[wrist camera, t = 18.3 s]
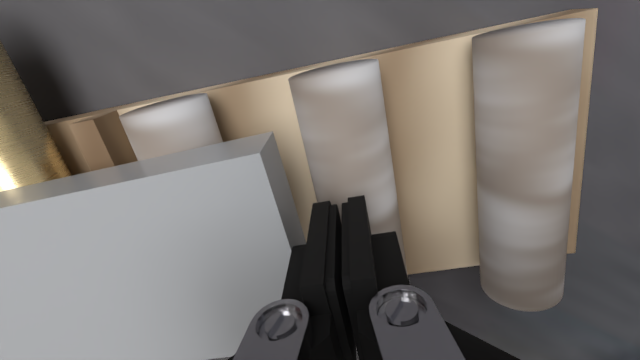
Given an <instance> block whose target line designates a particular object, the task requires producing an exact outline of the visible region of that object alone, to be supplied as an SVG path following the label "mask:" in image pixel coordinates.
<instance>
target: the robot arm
mask: <svg viewBox="0 0 640 360" xmlns="http://www.w3.org/2000/svg"><path fill="white" fill-rule="evenodd" d="M356 347H357V351H358V356H359V360H520V359H518V358H516V357H514V356H512V355H510V354H508V353H506V352H504V351H502V350H500V349H498V348H496V347H494V346H492V345H490V344H488V343H486V342H485V341H483V340H481V339H479V338H477V337H475V336H473V335H471V334H469V333H467V332H465V331H463V330H461V329H459V328H457V327H455V326H453V325H451V324H449V323H447V322H446V321H444V320H443V318H442V316H441V314H440V313H439V311H438V309H437V307H436V305H435V303H434V302H433V300H432V299H431V297H430V296H429V295H428V294H427V293H426V292H425V291H423V290H421V289H420V288H417V287H414V286H411V285H409V281H408V277H407V273H406V269H405V265H404V262H403V258H402V254H401V250H400V246H399V242H398V238H397V234H396V231H393V232H386V233H379V234H371V229H370V223H369V217H368V212H367V206H366V201H365V196H364V195H362V196H355V197H349V198H348V202H346V203H342V224H341V219H340V215H339V210H338V206H337V204H333V205H331V202H330V201H324V202H318V203H313V205H312V211H311V217H310V223H309V230H308V236H307V242H306V244H303V245H297V246H293V248H292V251H291V256H290V260H289V265H288V270H287V274H286V279H285V283H284V288H283V293H282V297H281V300H277V301H274V302H272V303H269V304H268V305H266V306H264V307H263V308H262V309H260V310H259V311H258V312H257V313H256V314H255V316H254V317H253V319H252V320H251V322H250V324H249V326H248V328H247V331H246V333H245V335H244V337H243V339H242V341H241V343H240V345H239V347H238V349H237V352H236V354H234V355H233V356H232V357H231V358H229V359H228V360H356Z"/></svg>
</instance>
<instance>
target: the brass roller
mask: <svg viewBox="0 0 640 360" xmlns="http://www.w3.org/2000/svg"><path fill="white" fill-rule="evenodd" d="M68 176H72V175H71V173H70V171H69V169H68V167H67V165H66V163H65V161H64V160H63V158H62V156H61V154H60V152H59V150H58V148H57V146H56V144H55V143H54V141H53V139H52V137H51V135H50V133H49V131H48V129H47V127H46V125H45V124H44V122H43V120H42V118H41V116H40V114H39V112H38V110H37V108H36V107H35V105H34V103H33V101H32V99H31V97H30V95H29V93H28V91H27V90H26V88H25V86H24V84H23V82H22V80H21V78H20V76H19V74H18V72H17V71H16V69H15V67H14V65H13V63H12V61H11V59H10V57H9V55H8V54H7V52H6V50H5V48H4V46H3V44H2V43H1V41H0V191H5V190H9V189H14V188H18V187H23V186H27V185H32V184H36V183H41V182H45V181H50V180H54V179H59V178H64V177H68Z"/></svg>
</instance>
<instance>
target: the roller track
mask: <svg viewBox="0 0 640 360" xmlns="http://www.w3.org/2000/svg"><path fill="white" fill-rule="evenodd" d="M597 14H598V8H591V9H571V10H566V11H562V12H557V13H552V14H548V15H543V16H538V17H534V18H529V19H524V20H520V21H515V22H510V23H506V24H501V25H496V26H492V27H487V28H482V29H477V30H473V31H468V32H463V33H459V34H454V35H449V36H445V37H440V38H435V39H431V40H426V41H421V42H417V43H412V44H407V45H402V46H398V47H393V48H388V49H384V50H379V51H374V52H370V53H365V54H360V55H356V56H351V57H346V58H342V59H337V60H332V61H327V62H323V63H318V64H313V65H309V66H304V67H299V68H295V69H290V70H285V71H281V72H276V73H271V74H267V75H262V76H257V77H253V78H248V79H243V80H238V81H234V82H229V83H224V84H220V85H215V86H210V87H206V88H201V89H196V90H192V91H187V92H182V93H178V94H173V95H168V96H163V97H159V98H154V99H149V100H145V101H140V102H135V103H131V104H126V105H121V106H117V107H112V108H107V109H103V110H98V111H93V112H89V113H84V114H79V115H74V116H70V117H65V118H60V119H56V120H51V121H46V122H44V124H45V125H46V127H47V129H48V131H49V133H50V135H51V137H52V139H53V141H54V143H55V144H56V146H57V148H58V150H59V152H60V154H61V156H62V158H63V160H64V161H65V163H66V165H67V167H68V169H69V171H70V173H71V175H72V176H73V175H77V174H82V173H86V172H91V171H95V170H100V169H104V168H109V167H113V166H118V165H122V164H127V163H131V162H136V161H140V160H145V159H150V158H154V157H159V156H163V155H168V154H172V153H177V152H181V151H186V150H190V149H195V148H199V147H204V146H208V145H213V144H217V143H222V142H226V141H231V140H236V139H240V138H245V137H249V136H254V135H258V134H263V133H267V132H272V131H273V133H274V136H275V140H276V143H277V146H278V150H279V153H280V156H281V160H282V163H283V167H284V170H285V173H286V177H287V180H288V183H289V187H290V190H291V193H292V197H293V200H294V203H295V207H296V210H297V213H298V217H299V220H300V223H301V227H302V230H303V233H304V237H305V240H306V242H307V236H308V230H309V223H310V217H311V211H312V205H313V203H318V202H324V201H330V202H331V205H333V204H337V206H338V210H339V215H340V219H341V224H342V203H346V202H348V198H349V197H355V196H362V195H364V196H365V201H366V206H367V212H368V217H369V223H370V229H371V234H379V233H386V232H393V231H396V234H397V238H398V242H399V246H400V250H401V254H402V258H403V262H404V265H405V269H406V273H407V277H408V275H409V274H416V273H424V272H432V271H439V270H447V269H455V268H462V267H470V266H478V265H480V283H481V287H482V289H483V290H484V292H485V293H486V294H487V295H488V296H489V297H490V298H491V299H492V300H494V301H495V302H497V303H499V304H501V305H503V306H505V307H508V308H511V309H515V310H520V311H542V310H546V309H549V308H552V307H553V306H555V305H557V304H558V303H559V302H560V301H561V299H562V297H563V291H564V279H565V267H566V255H567V254H570V253H575V250H576V239H577V228H578V217H579V207H580V196H581V185H582V175H583V164H584V153H585V142H586V132H587V121H588V110H589V100H590V89H591V78H592V67H593V57H594V46H595V35H596V25H597Z"/></svg>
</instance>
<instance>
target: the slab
mask: <svg viewBox="0 0 640 360" xmlns="http://www.w3.org/2000/svg"><path fill="white" fill-rule="evenodd" d="M303 244H306V240H305V237H304V233H303V230H302V227H301V223H300V220H299V217H298V213H297V210H296V207H295V203H294V200H293V197H292V193H291V190H290V187H289V183H288V180H287V177H286V173H285V170H284V167H283V163H282V160H281V156H280V153H279V150H278V146H277V143H276V140H275V136H274V133H273V131H272V132H267V133H263V134H258V135H254V136H249V137H245V138H240V139H236V140H231V141H226V142H222V143H217V144H213V145H208V146H204V147H199V148H195V149H190V150H186V151H181V152H177V153H172V154H168V155H163V156H159V157H154V158H150V159H145V160H140V161H136V162H131V163H127V164H122V165H118V166H113V167H109V168H104V169H100V170H95V171H91V172H86V173H82V174H77V175H73V176H68V177H64V178H59V179H54V180H50V181H45V182H41V183H36V184H32V185H27V186H23V187H18V188H14V189H9V190H5V191H0V360H207V359H215V358H223V357H230V356H233V355H234V354H236V352H237V349H238V347H239V345H240V343H241V341H242V339H243V337H244V335H245V333H246V331H247V328H248V326H249V324H250V322H251V320H252V319H253V317H254V316H255V314H256V313H257V312H258V311H259V310H260V309H262V308H263V307H264V306H266V305H268V304H269V303H272V302H274V301H277V300H281V297H282V293H283V288H284V283H285V279H286V274H287V270H288V265H289V260H290V256H291V251H292V248H293V246H297V245H303Z"/></svg>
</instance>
